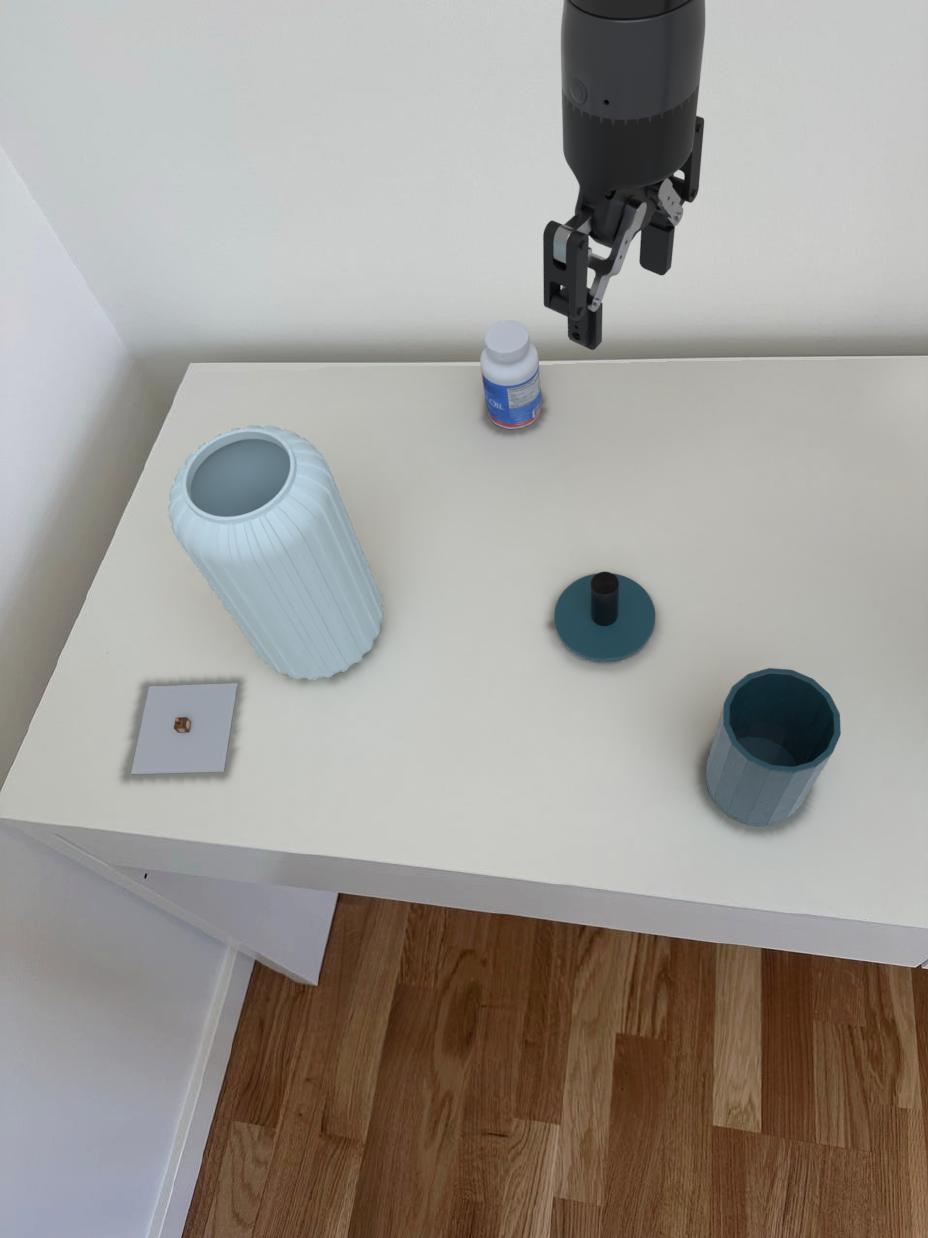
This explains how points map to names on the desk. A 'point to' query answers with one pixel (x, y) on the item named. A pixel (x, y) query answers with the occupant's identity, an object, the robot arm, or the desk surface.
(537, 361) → the pill bottle
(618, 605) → the lid
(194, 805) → the desk surface
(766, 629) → the desk surface
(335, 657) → the vase
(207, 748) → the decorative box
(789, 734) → the pot
